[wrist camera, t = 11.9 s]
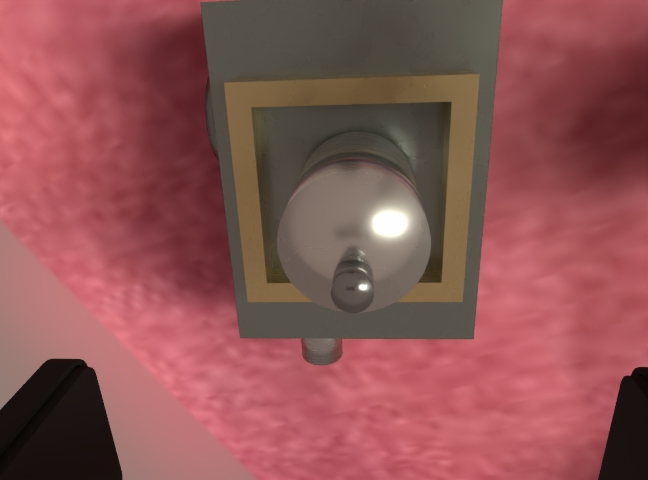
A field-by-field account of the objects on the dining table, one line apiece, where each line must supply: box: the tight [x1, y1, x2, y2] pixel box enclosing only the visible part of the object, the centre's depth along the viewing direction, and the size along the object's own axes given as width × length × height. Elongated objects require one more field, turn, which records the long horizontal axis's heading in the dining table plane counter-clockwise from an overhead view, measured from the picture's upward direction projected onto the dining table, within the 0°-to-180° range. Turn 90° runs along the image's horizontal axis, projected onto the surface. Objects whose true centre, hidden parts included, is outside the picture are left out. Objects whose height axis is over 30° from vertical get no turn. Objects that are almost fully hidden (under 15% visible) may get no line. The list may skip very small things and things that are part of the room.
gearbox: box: [200, 0, 503, 365], centre depth 26 cm, size 19×13×8 cm, turn 2°
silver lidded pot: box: [277, 132, 431, 313], centre depth 20 cm, size 5×5×8 cm
